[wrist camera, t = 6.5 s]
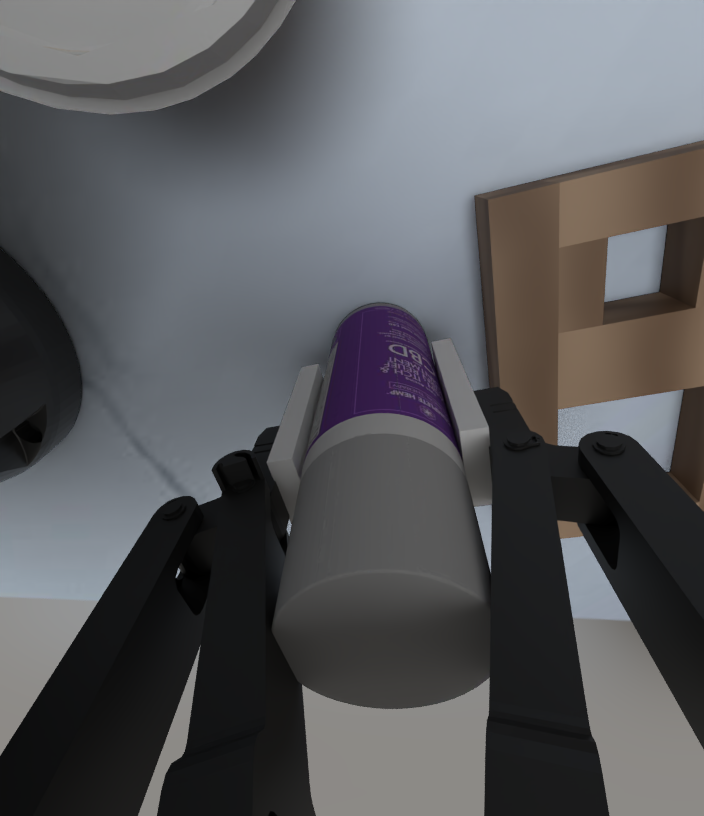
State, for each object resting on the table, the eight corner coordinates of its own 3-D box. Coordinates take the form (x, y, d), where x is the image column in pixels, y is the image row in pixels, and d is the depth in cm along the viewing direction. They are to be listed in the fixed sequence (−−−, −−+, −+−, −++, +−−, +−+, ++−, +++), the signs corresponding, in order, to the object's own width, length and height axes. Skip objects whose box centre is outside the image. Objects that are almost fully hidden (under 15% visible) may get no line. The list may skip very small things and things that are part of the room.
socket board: (499, 513, 26) (510, 544, 24) (474, 195, 18) (488, 199, 16) (714, 486, 24) (747, 517, 22) (801, 116, 16) (869, 108, 14)
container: (434, 306, 20) (546, 577, 7) (420, 394, 22) (483, 721, 9) (334, 299, 20) (257, 554, 7) (330, 387, 22) (268, 703, 9)
